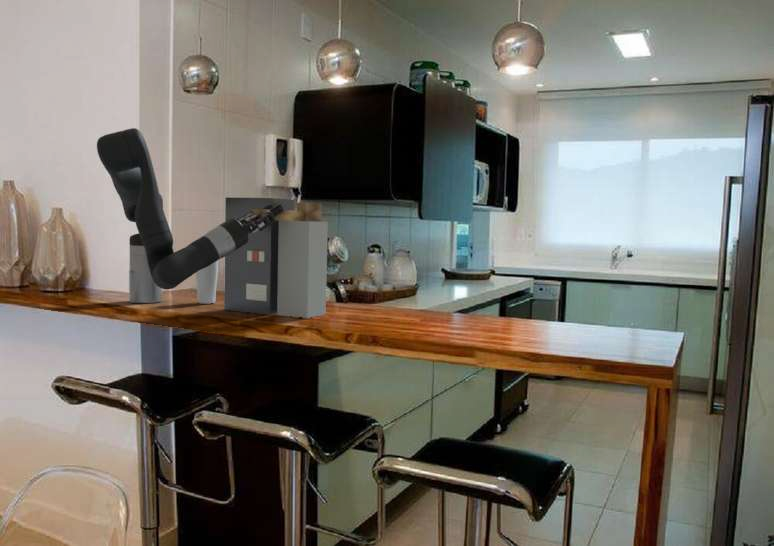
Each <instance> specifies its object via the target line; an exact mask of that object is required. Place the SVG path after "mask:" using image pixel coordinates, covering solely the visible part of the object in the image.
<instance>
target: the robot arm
mask: <svg viewBox="0 0 774 546" xmlns="http://www.w3.org/2000/svg"><path fill="white" fill-rule="evenodd" d="M96 150H97V151H96V152H97V154H98V158H99V159H100V162H101V163H102V165H103V168H104V169H105V171H107V173H108V174H109V176H110V178H111V181H112V184H113V186H114V189H115V191H116V193H117V194H118V196H119V198H120V201H121V204H122V208H123V213H124V215H125V218H126V220H128V221H129V222H133V223H135V225H136V228H137V231H138V233H135V234H132V235H130V236H129V270H128V302H129V303H131V304H132V303H133V304H134V303H137V304H152V303H160V302H162V297H163V293H162V291H163V290H172V289H174V288H176V287H178V286H179V285H180V284H181V283H183V282H184V281H185V280H187V279H188V278H190V277H193V275H196V272H197V271H199V270H201V269H204V268H206V267H208V266H209V265H211V264H213V263H214V262H216V261H217V260H218V261H219V260H221V259H223V258H225V256H227V255H229V254H230V253H232V252H234V251H235V250H237V249H238V248H240V247H242V246H243V245H245V244H246V243H247V242H248V234H249V233H254V232H256V231H257V230H258V229H259V231H262V230H263V229H265V228H266V227H267V226H269V225H270V224H271V223H273V222H274V221H275V218H274V217H276V216H278V215H279V214H281V213H282V212H283V211H284V210H283V208H282V206H281V205H277V206H275V207H274V208H273V207H272V205H267V206H266V207H264V208H262V209H270V210H269V211H267V212H265V213H263V214H261V213H258V214H256V215H254V216H253V212H250V213H248V214H246V215H244V216H242V217H241V218H239V219H237V220H236V219H234V218H231V219H229V220H227V221H224V222H222V223H221V224H218V225H217V226H215V227H214V228H212V229H211V230H209V231H208V232H206V233H205V234H204V235H202V236H201V237H198V239H195V240H194V241H192V242H191V243H189V244H188V245H186V246H185V247H183V248H181V249H179V250H177V251H174V248H173V245H174V238H173V233H172V231H171V229H170V226H169V223H168V220H167V217H166V214H165V212H164V209H163V208H164V202H163V201H164V200H163V196H162V195H161V194H160V191H159V185H158V182H157V178H156V173H155V170H154V166H153V162H152V158H151V154H150V151H149V149H148V145H147V143H146V140H145V137H144V136H143V134H142V132H141V130H139V129H138V128H134V127H132V128H128V129H124V130H119V131H115V132H112V133H108V134H104V135H102V136H100V137H99V138H98V140H97V141H96ZM258 217H260V219H258ZM267 217H268V218H269V219H268V218H267Z"/></svg>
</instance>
